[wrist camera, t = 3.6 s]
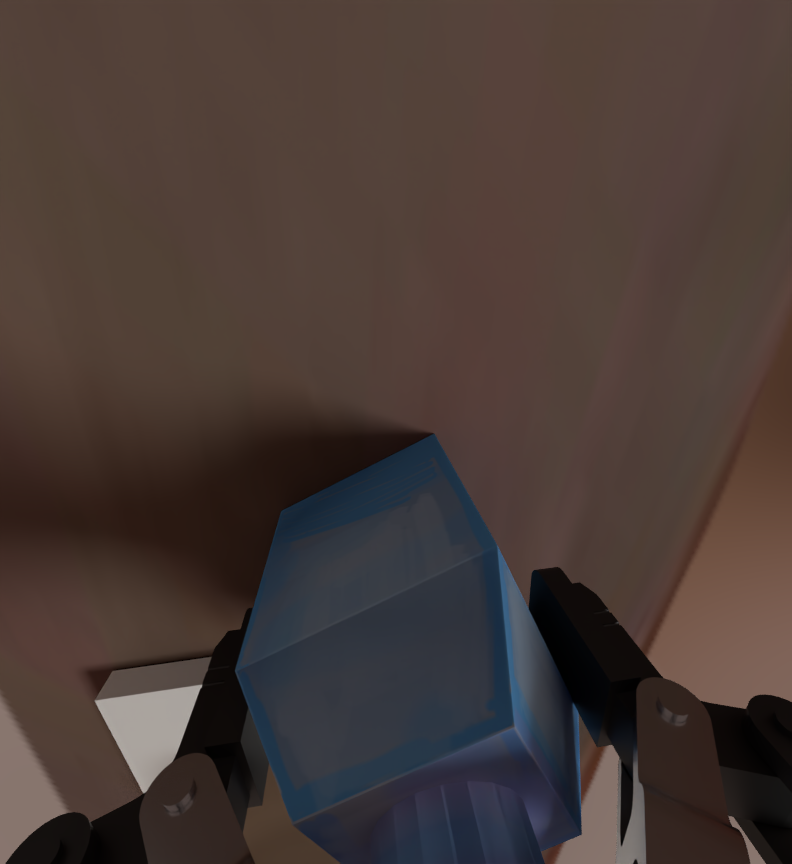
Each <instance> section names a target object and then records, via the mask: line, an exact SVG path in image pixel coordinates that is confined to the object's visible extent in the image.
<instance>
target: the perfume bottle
mask: <svg viewBox="0 0 792 864" xmlns="http://www.w3.org/2000/svg"><path fill="white" fill-rule="evenodd" d="M235 672H236V675H237V678H238V680H239V683H240V686H241V688H242V691H243V694H244V697H245V699H246V702H247V705H248V707H249V710H250V713H251V715H252V718H253V721H254V723H255V726H256V729H257V731H258V734H259V737H260V740H261V742H262V745H263V748H264V750H265V753H266V756H267V758H268V761H269V764H270V766H271V769H272V772H273V774H274V777H275V780H276V782H277V785H278V788H279V791H280V793H281V796H282V799H283V801H284V804H285V807H286V809H287V812H288V815H289V817H290V820H291V823H292V825H293V826H294V827H295V828H297V829H298V830H299V831H301V832H302V833H303V834H304V835H306V836H307V837H308V838H309V839H311V840H312V841H313V842H314V843H316V844H317V845H318V846H319V847H321V848H322V849H323V850H325V851H326V852H327V853H328V854H330V855H331V856H332V857H333V858H335V859H336V860H337V861H338V862H340V863H341V864H545V863H544V860H543V857H542V854H541V851H543V850H546V849H548V848H550V847H553V846H555V845H558V844H560V843H563V842H565V841H567V840H570V839H572V838H575V837H577V836H579V835H581V834H582V832H581V831H582V830H581V793H580V756H579V718H578V710H577V709H576V707H575V705H574V703H573V701H572V697H571V695H570V693H569V691H568V689H567V687H566V685H565V683H564V681H563V678H562V676H561V674H560V672H559V670H558V668H557V666H556V664H555V662H554V660H553V658H552V656H551V654H550V652H549V650H548V648H547V646H546V644H545V642H544V640H543V638H542V636H541V634H540V632H539V630H538V627H537V625H536V623H535V621H534V619H533V617H532V615H531V613H530V611H529V609H528V607H527V605H526V603H525V601H524V599H523V597H522V595H521V593H520V591H519V589H518V587H517V585H516V583H515V581H514V578H513V576H512V574H511V572H510V570H509V568H508V566H507V564H506V562H505V560H504V558H503V556H502V554H501V552H500V550H499V548H498V546H497V544H496V542H495V540H494V539H493V537H492V535H491V533H490V532H489V530H488V528H487V526H486V525H485V523H484V521H483V519H482V517H481V516H480V514H479V512H478V510H477V509H476V507H475V505H474V503H473V501H472V500H471V498H470V496H469V494H468V493H467V491H466V489H465V487H464V486H463V484H462V482H461V480H460V478H459V477H458V475H457V473H456V471H455V470H454V468H453V466H452V464H451V462H450V461H449V459H448V457H447V455H446V454H445V452H444V450H443V448H442V447H441V445H440V443H439V441H438V439H437V438H436V436H435V434H432V435H430V436H428V437H426V438H424V439H422V440H420V441H419V442H417V443H415V444H413V445H411V446H409V447H407V448H405V449H403V450H401V451H399V452H397V453H395V454H393V455H391V456H389V457H387V458H385V459H383V460H381V461H379V462H377V463H375V464H373V465H371V466H369V467H367V468H365V469H363V470H361V471H359V472H357V473H355V474H353V475H351V476H349V477H347V478H345V479H343V480H341V481H339V482H337V483H335V484H333V485H332V486H330V487H328V488H326V489H324V490H322V491H320V492H318V493H316V494H314V495H312V496H310V497H308V498H306V499H304V500H302V501H300V502H298V503H296V504H294V505H292V506H290V507H288V508H286V509H284V510H282V511H281V514H280V517H279V521H278V524H277V528H276V531H275V535H274V538H273V541H272V545H271V548H270V552H269V555H268V559H267V562H266V566H265V569H264V572H263V576H262V579H261V583H260V586H259V590H258V593H257V597H256V600H255V603H254V607H253V610H252V614H251V617H250V621H249V624H248V627H247V631H246V634H245V638H244V641H243V645H242V648H241V652H240V655H239V658H238V662H237V665H236V669H235Z"/></svg>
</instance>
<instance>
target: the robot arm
mask: <svg viewBox="0 0 792 864" xmlns="http://www.w3.org/2000/svg"><path fill="white" fill-rule="evenodd" d="M252 610H253V608H249V609H247V611H246V613H245V617H244V620H243V623H242V626H241V629H239V630H232V631H228V632H227V633H226V635H225V636H224V637H223V639H222V640H221V641H220V642H219V644H218V645H217V646H216V648H215V649H214V652H213V655H212V658H211V660H210V663H209V666H208V671H207V672H206V674H205V677H204V680H203V683H202V688H200V691H199V694H198V696H197V699H196V702H195V705H194V707H193V710H192V713H191V716H190V718H189V721H188V724H187V727H186V729H185V732H184V735H183V738H182V741H181V743H180V746H179V749H178V751H177V754H176V756H175V758H174V760H173V762H172V763H170V764H169V765H168V766H167V767H166V768H164V769H163V770H162V771H161V772H160V773H159V774H158V776H157V777H156V778H155V779H154V781H153V782H152V783H151V785H150V787H149V788H148V790H147V791H146V792H145V793H144V794H142V795H141V796H139V797H138V798H136V799H134V800H133V801H131V802H129V803H127V804H125V805H123V806H121V807H119V808H117V809H115V810H114V811H112V812H110V813H108V814H106V815H104V816H102V817H100V818H98V819H96V820H94V821H92V822H90V821H89V820H88V818H87V817H86V816H85V815H83V814H81V813H76V812H72V813H66V814H63V815H60V816H58V817H56V818H53V819H52V820H50V821H48V822H47V823H45V824H44V825H42V826H41V827H40V828H38V829H37V830H36V831H34V832H33V833H32V834H31V835H30V836H29V837H28V838H27V839H26V840H25V841H24V842H23V843H22V844H21V845H20V846H19V847H18V848H17V849H16V850H15V852H14V853H13V854H12V856H11V857H10V858H9V859H8V861H7V862H6V864H255V862H254V860H253V857H252V855H251V853H250V850H249V848H248V845H247V843H246V840H245V838H244V835H243V830H244V824H245V819H246V814H247V809H248V808H251V807H257V806H262V804H263V797H264V791H265V785H266V779H267V773H268V767H269V761H268V758H267V756H266V753H265V750H264V748H263V745H262V742H261V740H260V737H259V734H258V731H257V729H256V726H255V723H254V721H253V718H252V715H251V713H250V710H249V707H248V705H247V702H246V699H245V697H244V694H243V691H242V688H241V686H240V683H239V680H238V678H237V675H236V672H235V669H236V665H237V662H238V658H239V655H240V652H241V648H242V645H243V641H244V638H245V634H246V631H247V627H248V624H249V621H250V617H251V614H252ZM529 611H530V613H531V615H532V617H533V619H534V621H535V623H536V625H537V627H538V630H539V632H540V634H541V636H542V638H543V640H544V642H545V644H546V646H547V648H548V650H549V652H550V654H551V656H552V658H553V660H554V662H555V664H556V666H557V668H558V670H559V672H560V674H561V676H562V678H563V681H564V683H565V685H566V687H567V689H568V691H569V693H570V695H571V697H572V701H573V703H574V705H575V707H576V709H577V710H578V712H579V714H580V716H581V718H582V720H583V722H584V724H585V725H586V727H587V729H588V731H589V733H590V735H591V737H592V739H593V740H594V742H595V744H596V746H597V747H602V746H607V745H613V746H614V748H615V750H616V752H617V753H618V755H619V757H620V758H619V764H618V805H617V851H616V864H750V859H749V855H748V850H747V847H746V843H745V840H744V838H743V836H742V834H741V832H740V831H739V830H738V829H736V828H734V827H732V825H731V823H730V820H729V816H733V817H734V818H735V820H736V821H737V822H738V824H739V825H740V827H741V828H742V830H743V831H744V832H745V834H746V835H747V837H748V838H749V840H750V841H751V843H752V844H753V845H754V847H755V848H756V850H757V851H758V853H759V854H760V855H761V857H762V858H763V860H764V861H765V863H766V864H792V702H790V701H788V700H785V699H783V698H780V697H776V696H772V695H757V696H755V697H753V698H752V699H751V700H750V701H749V703H748V706H747V708H746V709H742V708H736V707H730V706H724V705H718V704H712V703H707V702H703V701H700V700H699V699H698V698H697V697H696V696H695V695H693V694H692V693H691V692H690V691H689V690H687V689H686V688H684V687H683V686H681V685H679V684H677V683H675V682H673V681H671V680H667V679H664V678H663V677H662V676H661V675H660V674H659V672H658V671H657V670H656V669H655V667H654V666H653V665H652V664H651V662H650V661H649V660H648V659H647V657H646V656H645V655H644V654H643V652H642V651H641V650H640V648H639V647H638V646H637V645H636V643H635V642H634V641H633V640H632V638H631V637H630V636H629V635H628V633H627V632H626V631H625V630H624V628H623V627H622V626H621V625H619V623H618V621H617V619H616V618H615V617H614V616H613V614H612V613H610V612H609V609H608V608H607V607H606V606H605V604H604V603H603V602H602V601H601V599H600V598H599V597H598V596H597V594H595V593H594V592H592V591H591V590H590V589H588V588H587V587H585V586H584V585H583V584H581V583H573V584H572V583H571V582H570V580H569V579H568V577H567V576H566V575H565V573H564V572H563V571H562V570H561V569H560V568H559V567H554V568H546V569H539V570H534V571H533V572H532V577H531V588H530V600H529Z"/></svg>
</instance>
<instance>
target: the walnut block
mask: <svg viewBox="0 0 792 864" xmlns="http://www.w3.org/2000/svg"><path fill="white" fill-rule="evenodd" d="M243 835H244V838H245V840H246V843H247V845H248V848H249V850H250V853H251V855H252V857H253V860H254V862H255V864H341V863H340V862H338V861H337V860H336V859H335V858H333V857H332V856H331V855H330V854H328V853H327V852H326V851H325V850H323V849H322V848H321V847H319V846H318V845H317V844H316V843H314V842H313V841H312V840H311V839H309V838H308V837H307V836H306V835H304V834H303V833H302V832H301V831H299V830H298V829H297V828H295V827H294V826H293V825H292V823H291V820H290V817H289V815H288V812H287V809H286V807H285V804H284V801H283V799H282V796H281V793H280V791H279V788H278V785H277V782H276V780H275V777H274V774H273V772H272V769H271V766H270V764H269V767H268V773H267V779H266V785H265V791H264V797H263V804H262V806H257V807H251V808H248V809H247V814H246V819H245V824H244V830H243Z"/></svg>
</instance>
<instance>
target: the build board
mask: <svg viewBox="0 0 792 864" xmlns="http://www.w3.org/2000/svg"><path fill="white" fill-rule="evenodd" d="M211 658H212V657H207V658H200V659H193V660H186V661H179V662H172V663H165V664H158V665H151V666H144V667H137V668H130V669H123V670H116V671H112V673H111V674H110V676H109V678H108V679H107V681H106V683H105V684H104V686H103V687H102V689H101V691H100V692H99V694H98V696H97V697H96V699H95V702H96V704H97V706H98V708H99V710H100V712H101V714H102V716H103V718H104V720H105V721H106V723H107V725H108V727H109V729H110V731H111V733H112V735H113V737H114V739H115V740H116V742H117V744H118V746H119V748H120V750H121V752H122V754H123V756H124V757H125V759H126V761H127V763H128V765H129V767H130V769H131V771H132V773H133V775H134V776H135V778H136V780H137V782H138V784H139V786H140V788H141V790H142V792H143V794H144V793H145V792H146V791H147V790H148V788H149V787H150V785H151V783H152V782H153V781H154V779H155V778H156V777H157V776H158V774H159V773H160V772H161V771H162V770H163V769H164V768H166V767H167V766H168V765H169V764H170V763H172V762H173V760H174V758H175V756H176V754H177V751H178V749H179V746H180V743H181V741H182V738H183V735H184V732H185V729H186V727H187V724H188V721H189V718H190V716H191V713H192V710H193V707H194V705H195V702H196V699H197V696H198V694H199V691H200V688H202V683H203V680H204V677H205V674H206V672H207V671H208V666H209V663H210V660H211Z"/></svg>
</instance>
